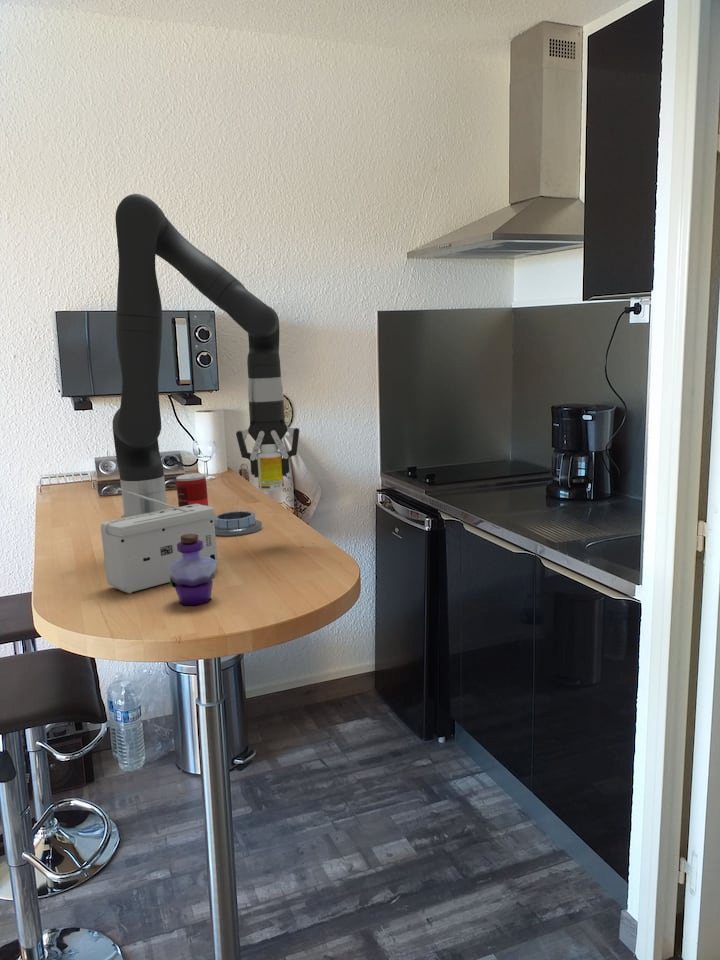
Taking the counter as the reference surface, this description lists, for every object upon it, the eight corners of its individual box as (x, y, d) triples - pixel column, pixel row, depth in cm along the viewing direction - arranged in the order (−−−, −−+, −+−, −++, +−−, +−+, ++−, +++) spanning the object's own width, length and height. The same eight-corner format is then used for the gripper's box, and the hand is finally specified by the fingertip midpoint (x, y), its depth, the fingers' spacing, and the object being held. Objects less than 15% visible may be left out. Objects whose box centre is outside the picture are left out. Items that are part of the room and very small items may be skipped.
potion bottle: (170, 596, 136) (164, 532, 134) (219, 590, 138) (213, 527, 136) (169, 612, 128) (162, 543, 126) (221, 605, 130) (215, 538, 128)
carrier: (242, 538, 176) (241, 523, 176) (197, 534, 182) (196, 520, 181) (272, 525, 188) (271, 510, 187) (229, 522, 193) (228, 508, 193)
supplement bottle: (288, 489, 165) (285, 443, 163) (265, 493, 162) (262, 445, 160) (277, 486, 170) (274, 441, 168) (254, 489, 167) (251, 443, 165)
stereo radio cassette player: (202, 563, 157) (194, 469, 153) (223, 571, 151) (214, 472, 147) (105, 588, 143) (93, 485, 140) (124, 597, 137) (112, 490, 134)
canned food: (213, 512, 207) (210, 473, 205) (201, 519, 199) (197, 478, 197) (188, 512, 208) (184, 473, 207) (174, 519, 201) (170, 478, 199)
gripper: (230, 401, 158) (236, 480, 161) (299, 398, 159) (303, 477, 162) (234, 399, 166) (239, 475, 169) (299, 396, 167) (303, 471, 170)
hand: (270, 475), depth 165 cm, fingers closed on supplement bottle, 5 cm apart
